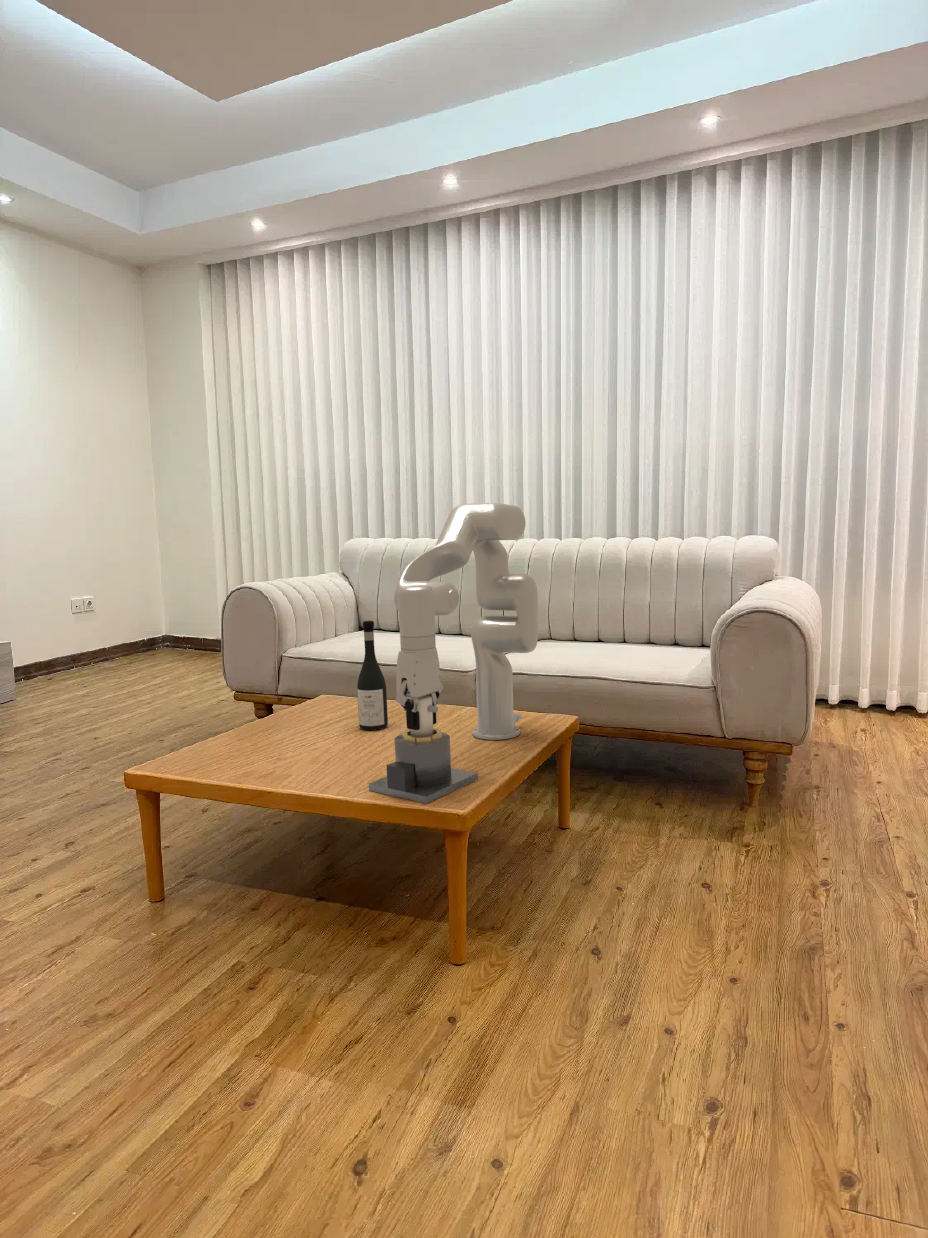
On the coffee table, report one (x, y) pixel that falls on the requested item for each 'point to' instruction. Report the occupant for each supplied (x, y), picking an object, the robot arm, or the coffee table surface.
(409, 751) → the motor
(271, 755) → the coffee table surface
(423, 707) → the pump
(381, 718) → the wine bottle
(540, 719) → the coffee table surface
